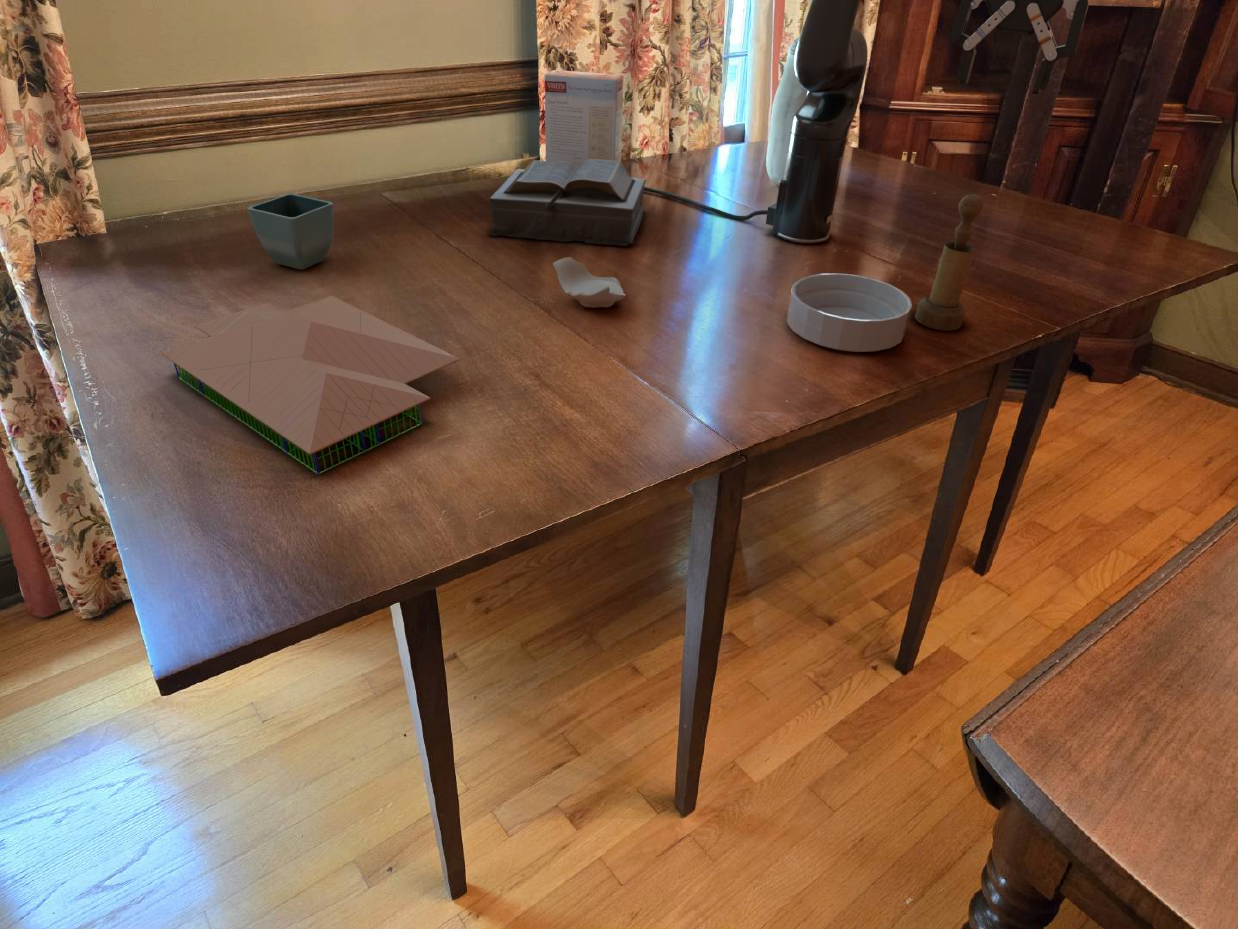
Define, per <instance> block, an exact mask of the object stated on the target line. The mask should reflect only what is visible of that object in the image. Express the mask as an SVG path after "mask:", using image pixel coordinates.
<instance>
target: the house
mask: <svg viewBox="0 0 1238 929" xmlns="http://www.w3.org/2000/svg"><path fill="white" fill-rule="evenodd" d="M193 328H195V329H196V330H198V331H200V332H201V333H203V334H205V335H206V337H201V338H200V339H197V340H194V341H191V342H187V343H185V344H181V345H179V346H176V347H172V348H169V349H167V350H163V351H161V352H160V355H162V356H163V357H164V358H166V359H167V360H169V361H170V362H172V363H173V365H174V368H175V369H174V370H175V372H176V375H177V378H178V379H179V380H181V381H182V382H184V383H185V384H187V385H188V386H190V387H191V388H192V389H194V390H196V392H198V393H199V394H201V395H202V396H204V397H205V398H207V399H208V400H210V401H211V402H213V403H214V404H216V405H217V406H219V408H222V409H223V410H224V411H226V412H227V413H229V414H230V415H231V416H232V417H234V418H236V419H237V420H239V421H240V422H241V423H243V424H245V425H246V426H247V427H249V428H250V429H252V430H253V431H254V432H256V433H258V434H259V435H260V436H262V437H263V438H265V439H266V440H267V441H269V442H271V443H272V444H273V445H274V446H276V447H278V448H279V449H281V450H282V451H283V452H285V453H286V454H288V455H289V456H291V457H292V458H294V459H295V460H297V461H298V462H299V463H301V464H303V465H304V466H305V467H307V468H308V469H309V470H311V471H312V472H314V473H315V474H317V475H319V474H322V473H324V472H326V471H328V470H330V469H332V468H335V467H336V466H338V465H340V464H342V463H344V462H347V461H348V460H351V459H353V458H355V457H357V456H359V455H360V454H361V455H362V454H363V453H365V452H367V451H369V450H372V449H374V448H376V447H378V446H380V445H381V444H384V443H387V442H388V441H390V440H391V439H394V438H396V437H398V436H400V435H402V434H405V433H406V432H408V431H410V430H412V429H415V428H417V427H419V426H420V425H422V424H423V416H422V406H421V404H423V403H426V402H427V401H429V400H431V397H430V396H429V395H426V394H424V393H422V392H421V391H419V390H417V389H415V388H414V387H411V386H410V385H408V384H409V383H412V382H414V381H415V380H418V379H421V378H422V377H425V376H427V375H430V374H432V373H434V372H436V371H438V370H441V369H444V368H446V367H448V366H450V365H452V364H455V363H457V362H459V361H461V358H459V357H457V356H455V355H453V354H451V353H450V352H447V351H445V350H444V349H441V348H439V347H437V346H435V345H433V344H431V343H429V342H427V341H425V340H424V339H420V338H418V336H417V337H416V336H415V335H413V334H411V333H409V332H407V331H405V330H402V329H401V328H398V327H396V326H394V325H393V324H390V323H388V322H387V321H384V320H382V319H380V318H378V317H376V316H374V315H372V314H370V313H369V312H366V311H364V310H362V309H360V308H358V307H356V306H354V305H352V304H350V303H348V302H346V301H344V300H342V299H340V298H338V297H336V296H334V295H330V296H326V297H323V298H320V299H317V300H314V301H311V302H308V303H305V304H302V305H299V306H296V307H293V308H290V309H287V310H284V311H283V310H281V309H280V308H278V307H276V306H274V305H272V304H270V303H268V302H264V303H261V304H259V305H256V306H251V307H249V308H246V309H243V310H240V311H236V312H233V313H230V314H227V315H223V316H220V317H217V318H214V319H211V320H209V321H205V322H202V323H199V324H195V325H193ZM214 396H215V397H214ZM417 406H418V407H417ZM412 408H414V412H413V409H412ZM240 411H241V412H240ZM417 413H418V414H419V420H418V414H417ZM399 414H401V415H402V418H400V419H398V415H399ZM413 415H414V417H415V418H414V417H413ZM238 416H239V417H238ZM394 416H395V419H396V420H394V421H392V418H393V417H394ZM248 417H249V418H248ZM245 418H246V420H245ZM406 418H408V419H409V428H408V429H406V425H405V419H406ZM252 419H253V420H252ZM388 419H389V424H387V425H386V423H385V421H386V420H388ZM411 420H414V421H415V424H416V425H414V426H412V421H411ZM400 421H402V422H403V430H404V431H402V432H400V427H399V422H400ZM382 422H383V426H382V427H381V428H380V427H379V424H380V423H382ZM395 423H396V426H397V434H396V435H394V433H393V424H395ZM257 426H258V427H257ZM387 427H390V431H391V437H389V438H388V436H387V430H386V428H387ZM261 428H262V430H261ZM371 428H372V429H371ZM367 429H368V430H367ZM382 429H384V435H385V440H383V441H381V434H380V430H382ZM258 430H259V431H258ZM364 430H365V433H364ZM265 431H266V432H265ZM269 432H270V433H269ZM359 433H360V434H359ZM266 434H267V436H266ZM273 434H274V435H273ZM273 436H274V437H273ZM277 436H278V438H277ZM351 437H352V438H353V441H352V438H351ZM355 437H356V438H355ZM366 437H367V438H369V440H370V447H368V448H367V447H366V440H365V438H366ZM274 438H275V440H274ZM278 440H279V442H278ZM345 440H346V441H347V442H348V443H346V444H345V442H344V441H345ZM360 440H361V442H360ZM341 441H342V446H341V447H338V443H339V442H341ZM373 442H374V445H373ZM287 443H288V444H287ZM356 443H357V444H356ZM334 444H335V449H334V450H332V451H331V448H330V447H331V446H333V445H334ZM361 444H362V447H361ZM291 445H292V446H291ZM349 445H350V451H351V456H350V457H348V458H347V454H346V448H345V447H346V446H349ZM353 446H355V447H357V450H358V453H356V454H355V455H354V451H353ZM288 447H289V449H288ZM326 448H328V453H325V454H324V451H323V450H324V449H326ZM296 449H297V452H296ZM341 449H343V451H344V452H343V453H344V457H345V459H343V460H342V461H340V454H339V450H341ZM360 450H361V451H360ZM300 451H301V455H300ZM320 451H321V455H320V456H319V457H317V455H316V453H317V452H320ZM333 452H336V454H337V459H338V463H336V464H334V463H333V458H332V453H333ZM293 454H294V455H293ZM297 454H298V457H297ZM304 454H305V455H306V457H305V455H304ZM328 455H330V456H329V458H330V463H331V466H330V467H327V465H326V461H325V457H326V456H328ZM301 456H302V457H301ZM309 457H310V459H309ZM305 458H306V459H305ZM321 458H322V461H323V465H324V469H323V470H321V471H320V470H319V466H318V464H319V463H318V460H319V459H321ZM302 460H303V461H302ZM306 460H307V464H306ZM310 460H311V463H310ZM311 465H312V467H311Z"/></svg>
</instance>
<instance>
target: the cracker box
mask: <svg viewBox="0 0 1238 929" xmlns="http://www.w3.org/2000/svg"><path fill="white" fill-rule="evenodd" d="M623 106H624V75H622V74H610V73H609V74H608V73H600V72H599V73H598V72H587V71H577V70H575V71H574V70H557V69H552V70H551V71H549V72H548V73H546V74H545V75H544V126H545V127H544V132H545V133H544V134H545V135H544V136H545V161H567V162H571V163H573V164H574V165H575V166H579V165H580V164H581V163H582V162H583V161H585V160H588V159H600V160H609V161H620V162H621V163H622V138H623V137H622V134H623V110H624V108H623Z"/></svg>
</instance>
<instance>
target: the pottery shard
mask: <svg viewBox="0 0 1238 929" xmlns="http://www.w3.org/2000/svg"><path fill="white" fill-rule="evenodd" d="M552 266H553V267H554V269H555V271H556V274H557V277H558V281H559V285H560V286H561V288H562V290H563V291H564V293H566V295H568V296H569V297H570V298H571V299H574V300H576V301H578V303H579V304H580V305H581V306H582V307H585V308H593V309H595V308H610V307H612V306H613V305H614V304H615V302H618V301H621V300H622V299H624V298H626V297H627V295H626V293H624V290H623V288H622V285H621V284H620V281H619V280H618V279H617V278H616V277H613V276H607V277H606V276H605V277H602V276H596V275H593V274H591V273H590V271H589V270H588V269H587V267H586V265H584V264H583V263H580V262H579V261H577V260H575V259H574V258H573V257H570V256H568V257H563V258H561V259H558V260H555V261H554V262H553V263H552Z"/></svg>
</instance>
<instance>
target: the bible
mask: <svg viewBox="0 0 1238 929" xmlns="http://www.w3.org/2000/svg"><path fill="white" fill-rule="evenodd" d="M646 182H647V180H646V178H639V177H631V176H630V175H629V173H628V171H627V170H626V168H625V166H624V164H623V162H622V161H621V162H620V161H609V160H600V159H588V160H585V161H583V162H582V163H581V164H580V165H579V166H575V165H574V164H573V163H571V162H567V161H546V160H539V159H538V160H537V159H534V160H532V161H531V162H530V163H529V164H527V166H526V167H525V169H521V168H516V169H515V170H514V171H513V172H512V173H511V175H509V177H508V178H507V179H506V180H505V181H504V182H503V184H501V186H499V188H498V189H497V190H495V192H494V193H493V194H492V195H491V196H490V197H489V202H490V209H491V214H492V220H493V222H492V226H491V236H492V237H497V236H501V237H509V238H520V239H521V238H522V239H530V240H533V239H535V240H538V241H543V240H546V241H552V242H556V241H557V242H565V243H566V242H573V241H577V242H584V243H585V244H592V245H593V244H594V245H603V246H604V245H605V246H607V245H608V246H614V245H616V246H619V247H621V246H622V247H628V245H631V244H633V242H634V240H635V238H636V237H635V236H636V234H637V233H638V230H639V229H640V225H641V222H642V220H643V215H644V214H643V213H644V202H643V200H644V193H645V191H644V187H645V185H646Z"/></svg>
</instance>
